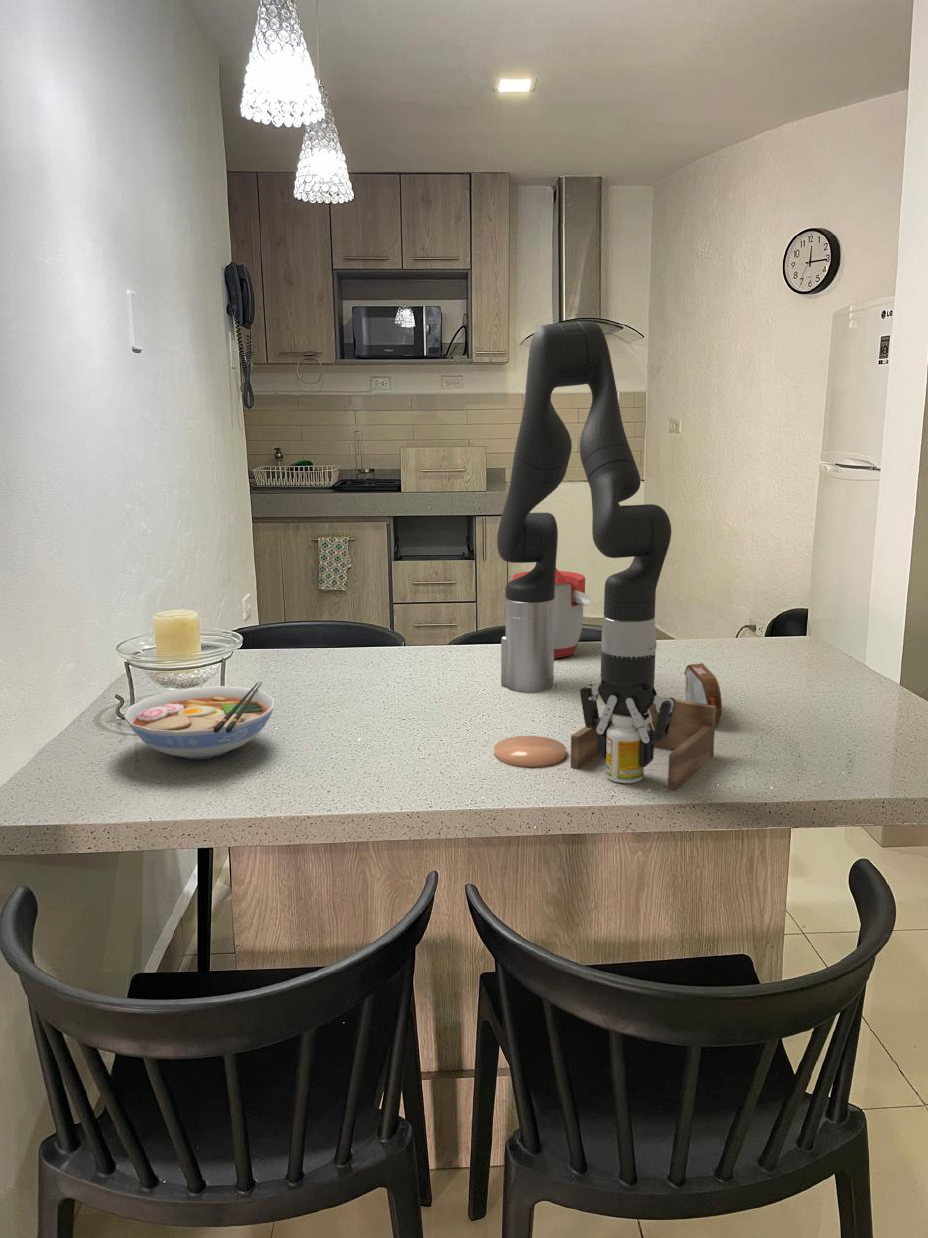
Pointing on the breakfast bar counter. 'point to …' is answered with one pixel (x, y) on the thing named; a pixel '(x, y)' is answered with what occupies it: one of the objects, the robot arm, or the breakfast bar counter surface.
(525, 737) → the coaster
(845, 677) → the breakfast bar counter surface
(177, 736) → the ramen bowl
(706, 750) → the cubby
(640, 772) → the supplement bottle
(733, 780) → the breakfast bar counter surface
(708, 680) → the tin
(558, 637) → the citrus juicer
